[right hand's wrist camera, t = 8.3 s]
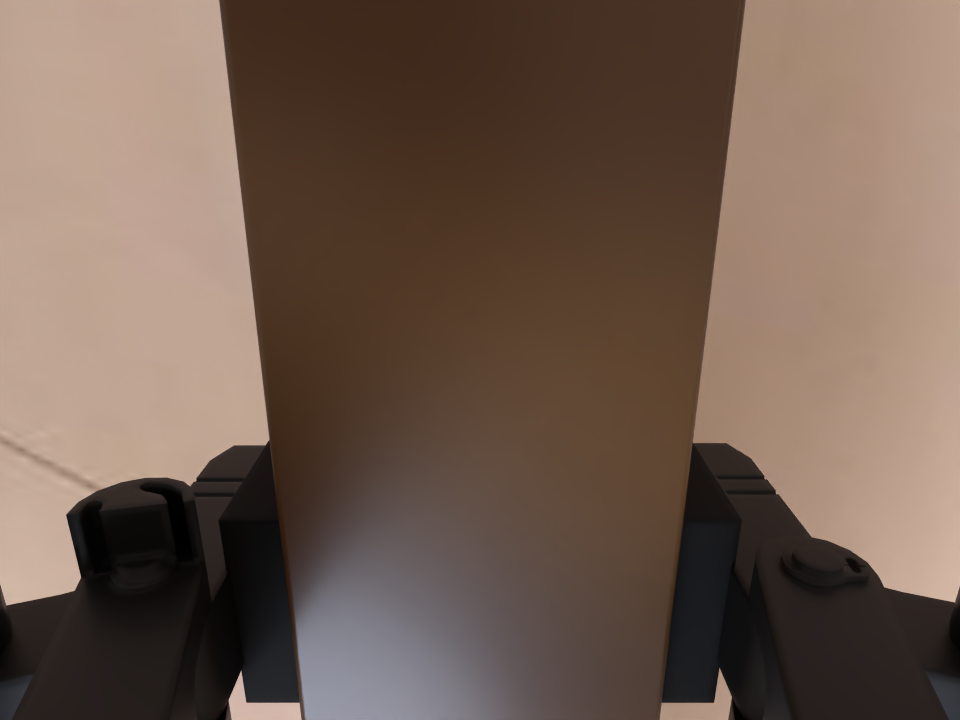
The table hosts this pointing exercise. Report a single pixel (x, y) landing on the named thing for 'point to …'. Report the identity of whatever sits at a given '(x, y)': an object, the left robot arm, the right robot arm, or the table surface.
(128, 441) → the table surface
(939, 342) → the table surface
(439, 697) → the post
